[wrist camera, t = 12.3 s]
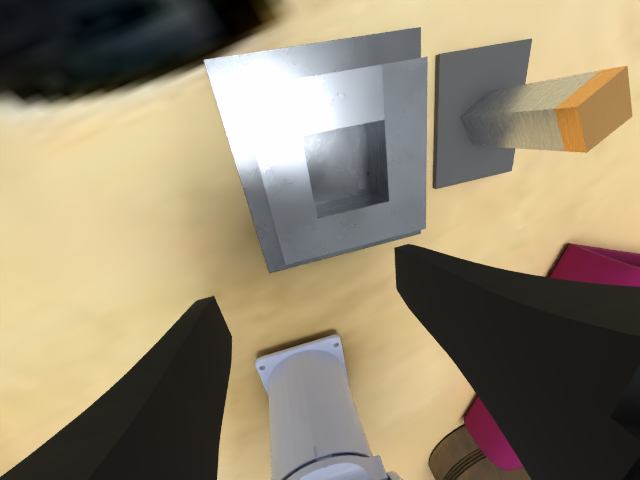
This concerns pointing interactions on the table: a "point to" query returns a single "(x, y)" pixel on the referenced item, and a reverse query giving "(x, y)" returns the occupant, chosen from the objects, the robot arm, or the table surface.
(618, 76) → the orange and grey block
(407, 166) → the block
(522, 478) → the wooden container
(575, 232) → the table surface
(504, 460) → the book
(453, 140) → the mat
